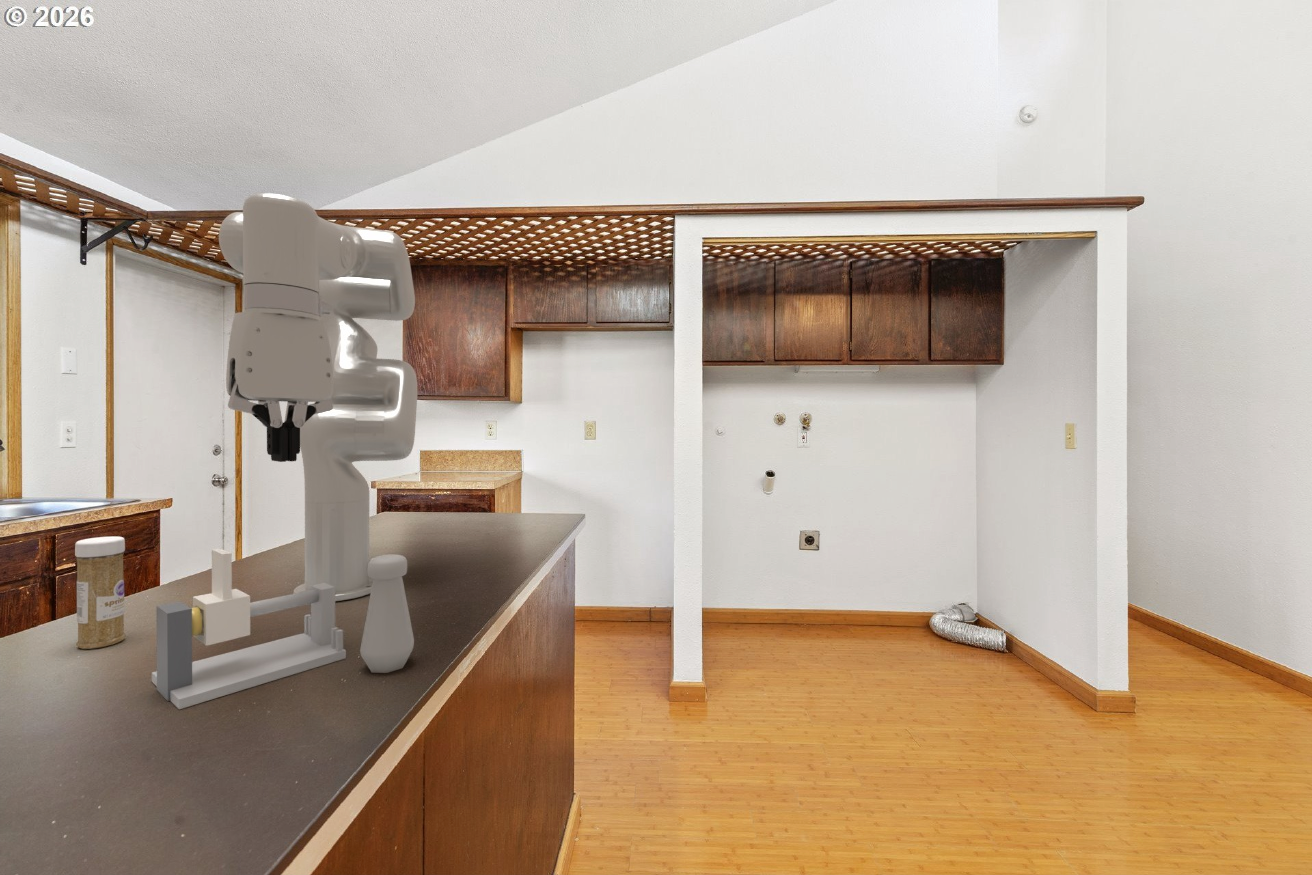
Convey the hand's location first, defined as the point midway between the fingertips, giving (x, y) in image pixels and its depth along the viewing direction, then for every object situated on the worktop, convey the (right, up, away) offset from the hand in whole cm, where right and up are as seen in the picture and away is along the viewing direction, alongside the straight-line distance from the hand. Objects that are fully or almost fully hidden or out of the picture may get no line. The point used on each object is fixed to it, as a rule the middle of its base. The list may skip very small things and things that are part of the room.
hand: (283, 460), depth 68 cm
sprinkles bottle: (-27, -24, +5) cm, 36 cm away
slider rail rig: (-2, -24, -2) cm, 24 cm away
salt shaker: (+13, -24, -1) cm, 28 cm away
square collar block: (-4, -19, -5) cm, 20 cm away
